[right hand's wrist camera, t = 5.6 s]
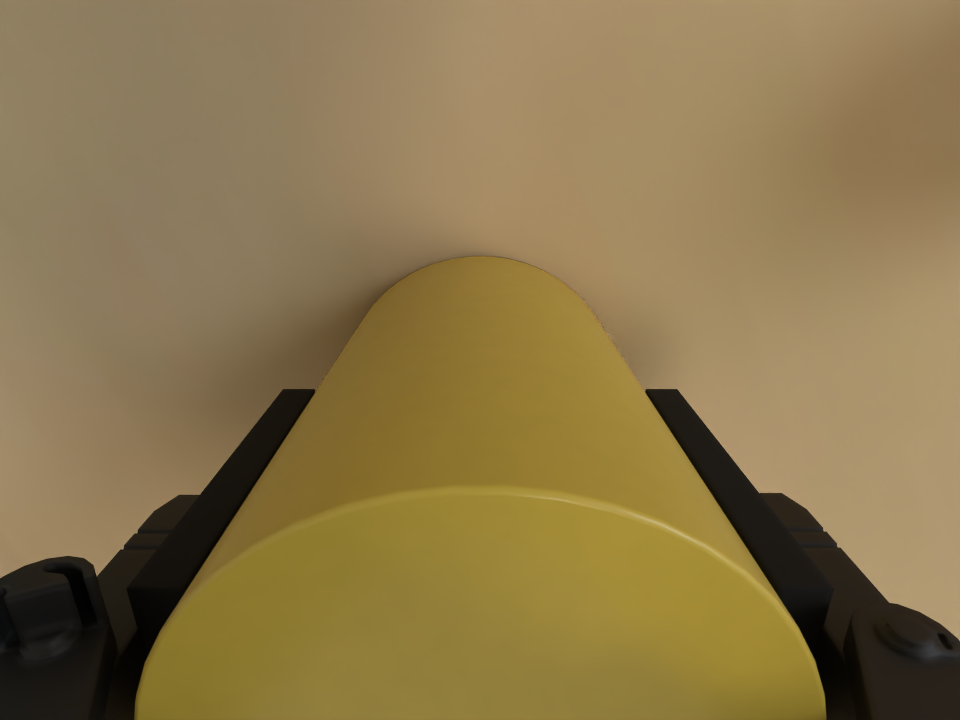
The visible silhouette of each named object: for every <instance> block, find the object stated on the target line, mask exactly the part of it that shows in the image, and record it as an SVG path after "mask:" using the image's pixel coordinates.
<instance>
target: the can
mask: <svg viewBox="0 0 960 720" xmlns="http://www.w3.org/2000/svg"><path fill="white" fill-rule="evenodd" d="M134 720H827V718H826V706H825V695H824V690H823V687H822V683H821V680H820V676H819V673H818V669H817V665H816V662H815V659H814V657H813V655H812V653H811V651H810V649H809V647H808V645H807V643H806V641H805V639H804V637H803V635H802V633H801V631H800V629H799V627H798V626H797V624H796V623H795V621H794V620H793V618H792V617H791V615H790V614H789V612H788V611H787V609H786V607H785V606H784V604H783V603H782V601H781V600H780V598H779V597H778V595H777V594H776V592H775V591H774V589H773V588H772V586H771V584H770V583H769V581H768V580H767V578H766V577H765V575H764V574H763V572H762V571H761V569H760V568H759V566H758V565H757V563H756V562H755V560H754V558H753V557H752V555H751V554H750V552H749V551H748V549H747V548H746V546H745V545H744V543H743V542H742V540H741V539H740V537H739V535H738V534H737V532H736V531H735V529H734V528H733V526H732V525H731V523H730V522H729V520H728V519H727V517H726V516H725V514H724V513H723V511H722V509H721V508H720V506H719V505H718V503H717V502H716V500H715V499H714V497H713V496H712V494H711V493H710V491H709V490H708V488H707V486H706V485H705V483H704V482H703V480H702V479H701V477H700V476H699V474H698V473H697V471H696V470H695V468H694V467H693V465H692V464H691V462H690V460H689V459H688V457H687V456H686V454H685V453H684V451H683V450H682V448H681V447H680V445H679V444H678V442H677V441H676V439H675V437H674V436H673V434H672V433H671V431H670V430H669V428H668V427H667V425H666V424H665V422H664V421H663V419H662V418H661V416H660V414H659V413H658V411H657V410H656V408H655V407H654V405H653V404H652V402H651V401H650V399H649V398H648V396H647V395H646V393H645V392H644V390H643V388H642V387H641V385H640V384H639V382H638V381H637V379H636V378H635V376H634V375H633V373H632V372H631V370H630V369H629V367H628V365H627V364H626V362H625V361H624V359H623V358H622V356H621V355H620V353H619V352H618V350H617V349H616V347H615V346H614V344H613V343H612V341H611V339H610V338H609V336H608V335H607V333H606V332H605V330H604V329H603V327H602V326H601V324H600V323H599V321H598V320H597V318H596V317H595V315H594V314H593V313H592V311H591V310H590V308H589V307H588V306H587V304H586V303H585V302H584V301H583V300H582V299H581V298H580V297H579V296H578V295H577V294H576V293H575V292H574V291H573V290H572V289H571V288H569V287H568V286H567V285H565V284H564V283H563V282H562V281H560V280H559V279H557V278H555V277H554V276H552V275H550V274H548V273H547V272H545V271H543V270H541V269H538V268H536V267H533V266H531V265H529V264H526V263H522V262H519V261H515V260H511V259H506V258H498V257H491V256H469V257H462V258H454V259H449V260H446V261H442V262H438V263H435V264H432V265H429V266H427V267H424V268H422V269H420V270H417V271H415V272H414V273H412V274H410V275H408V276H407V277H405V278H403V279H402V280H400V281H399V282H397V283H396V284H395V285H394V286H392V287H391V288H390V289H389V290H387V291H386V292H385V293H384V294H383V295H382V296H381V297H380V298H379V299H378V300H377V301H376V303H375V304H374V305H373V306H372V307H371V309H370V310H369V312H368V313H367V314H366V316H365V317H364V319H363V320H362V322H361V323H360V325H359V326H358V328H357V329H356V331H355V332H354V334H353V335H352V337H351V339H350V340H349V342H348V343H347V345H346V346H345V348H344V349H343V351H342V352H341V354H340V355H339V357H338V359H337V360H336V362H335V363H334V365H333V366H332V368H331V369H330V371H329V372H328V374H327V375H326V377H325V378H324V380H323V382H322V383H321V385H320V386H319V388H318V389H317V391H316V392H315V394H314V395H313V397H312V398H311V400H310V401H309V403H308V405H307V406H306V408H305V409H304V411H303V412H302V414H301V415H300V417H299V418H298V420H297V421H296V423H295V425H294V426H293V428H292V429H291V431H290V432H289V434H288V435H287V437H286V438H285V440H284V441H283V443H282V444H281V446H280V448H279V449H278V451H277V452H276V454H275V455H274V457H273V458H272V460H271V461H270V463H269V464H268V466H267V467H266V469H265V471H264V472H263V474H262V475H261V477H260V478H259V480H258V481H257V483H256V484H255V486H254V487H253V489H252V491H251V492H250V494H249V495H248V497H247V498H246V500H245V501H244V503H243V504H242V506H241V507H240V509H239V510H238V512H237V514H236V515H235V517H234V518H233V520H232V521H231V523H230V524H229V526H228V527H227V529H226V530H225V532H224V533H223V535H222V537H221V538H220V540H219V541H218V543H217V544H216V546H215V547H214V549H213V550H212V552H211V553H210V555H209V557H208V558H207V560H206V561H205V563H204V564H203V566H202V567H201V569H200V570H199V572H198V573H197V575H196V576H195V578H194V580H193V581H192V583H191V584H190V586H189V587H188V589H187V590H186V592H185V593H184V595H183V596H182V598H181V599H180V601H179V603H178V604H177V606H176V607H175V609H174V610H173V612H172V613H171V615H170V616H169V618H168V619H167V621H166V623H165V624H164V626H163V627H162V629H161V630H160V632H159V634H158V636H157V638H156V641H155V643H154V645H153V647H152V649H151V651H150V653H149V655H148V657H147V659H146V661H145V664H144V668H143V671H142V675H141V679H140V683H139V686H138V690H137V694H136V700H135V715H134Z"/></svg>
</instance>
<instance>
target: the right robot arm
mask: <svg viewBox="0 0 960 720" xmlns="http://www.w3.org/2000/svg"><path fill="white" fill-rule="evenodd" d="M645 393H646V395H647V396H648V398H649V399H650V401H651V402H652V404H653V405H654V407H655V408H656V410H657V411H658V413H659V414H660V416H661V418H662V419H663V421H664V422H665V424H666V425H667V427H668V428H669V430H670V431H671V433H672V434H673V436H674V437H675V439H676V441H677V442H678V444H679V445H680V447H681V448H682V450H683V451H684V453H685V454H686V456H687V457H688V459H689V460H690V462H691V464H692V465H693V467H694V468H695V470H696V471H697V473H698V474H699V476H700V477H701V479H702V480H703V482H704V483H705V485H706V486H707V488H708V490H709V491H710V493H711V494H712V496H713V497H714V499H715V500H716V502H717V503H718V505H719V506H720V508H721V509H722V511H723V513H724V514H725V516H726V517H727V519H728V520H729V522H730V523H731V525H732V526H733V528H734V529H735V531H736V532H737V534H738V535H739V537H740V539H741V540H742V542H743V543H744V545H745V546H746V548H747V549H748V551H749V552H750V554H751V555H752V557H753V558H754V560H755V562H756V563H757V565H758V566H759V568H760V569H761V571H762V572H763V574H764V575H765V577H766V578H767V580H768V581H769V583H770V584H771V586H772V588H773V589H774V591H775V592H776V594H777V595H778V597H779V598H780V600H781V601H782V603H783V604H784V606H785V607H786V609H787V611H788V612H789V614H790V615H791V617H792V618H793V620H794V621H795V623H796V624H797V626H798V627H799V629H800V631H801V633H802V635H803V637H804V639H805V641H806V643H807V645H808V647H809V649H810V651H811V653H812V655H813V657H814V659H815V662H816V665H817V669H818V673H819V676H820V680H821V683H822V687H823V690H824V695H825V706H826V718H827V720H960V641H959V640H958V638H956V637H955V636H954V635H953V634H952V633H950V632H949V631H948V630H947V629H946V628H945V627H943V626H942V625H941V624H940V623H938V622H936V621H934V620H933V619H931V618H929V617H927V616H925V615H924V614H922V613H920V612H918V611H915V610H912V609H910V608H907V607H904V606H901V605H898V604H893V603H889V602H888V601H887V600H886V599H885V598H884V596H883V595H882V594H881V593H880V592H879V591H878V590H877V589H876V587H875V586H874V585H873V584H872V583H871V582H870V581H869V579H868V578H867V577H866V576H865V575H864V574H863V573H862V572H861V570H860V569H859V568H858V567H857V566H856V565H855V564H854V562H853V561H852V560H851V559H850V558H849V557H848V556H847V555H846V553H845V552H844V551H843V550H842V549H841V548H838V547H837V543H836V542H835V541H834V540H833V539H832V538H831V536H830V535H829V534H828V533H827V532H824V531H823V527H822V526H821V525H820V524H819V523H818V522H817V521H816V519H815V518H814V517H813V516H812V515H811V514H810V513H809V511H808V510H807V509H805V508H804V507H802V506H801V505H799V504H798V503H796V502H795V501H793V500H791V499H790V498H788V497H787V496H785V495H784V494H782V493H759V492H758V491H757V490H756V489H755V487H754V486H753V485H752V484H751V482H750V481H749V480H748V478H747V477H746V476H745V475H744V473H743V472H742V471H741V470H740V468H739V467H738V466H737V465H736V463H735V462H734V461H733V459H732V458H731V457H730V456H729V454H728V453H727V452H726V451H725V449H724V448H723V447H722V446H721V444H720V443H719V442H718V440H717V439H716V438H715V437H714V435H713V434H712V433H711V432H710V430H709V429H708V428H707V426H706V425H705V424H704V423H703V421H702V420H701V419H700V418H699V416H698V415H697V414H696V413H695V411H694V410H693V409H692V407H691V406H690V405H689V404H688V402H687V401H686V400H685V399H684V397H683V396H682V395H681V394H680V392H679V391H678V390H677V389H646V391H645ZM314 394H315V389H283V390H282V391H281V393H280V394H279V395H278V397H277V398H276V399H275V400H274V402H273V403H272V404H271V405H270V407H269V408H268V409H267V411H266V412H265V413H264V414H263V416H262V417H261V418H260V419H259V421H258V422H257V423H256V424H255V426H254V427H253V428H252V430H251V431H250V432H249V433H248V435H247V436H246V437H245V438H244V440H243V441H242V442H241V443H240V445H239V446H238V447H237V449H236V450H235V451H234V452H233V454H232V455H231V456H230V457H229V459H228V460H227V461H226V463H225V464H224V465H223V466H222V468H221V469H220V470H219V471H218V473H217V474H216V475H215V476H214V478H213V479H212V480H211V482H210V483H209V484H208V485H207V487H206V488H205V489H204V490H203V492H202V493H201V494H200V495H178V496H177V497H175V498H174V499H172V500H171V501H169V502H168V503H166V504H164V505H163V506H161V507H160V508H158V509H157V510H155V511H154V512H153V513H152V514H151V515H150V517H149V518H148V519H147V520H146V521H145V522H144V523H143V525H142V526H141V527H140V528H139V529H138V533H137V534H134V535H133V536H132V537H131V538H130V539H129V541H128V542H127V543H126V544H125V545H124V549H123V550H120V551H119V552H118V553H117V554H116V555H115V557H114V558H113V559H112V560H111V561H110V562H109V563H108V565H107V566H106V567H105V568H104V569H103V570H102V571H101V573H100V574H99V575H98V576H96V573H95V569H94V566H93V565H92V564H91V563H90V562H88V561H87V560H86V559H84V558H79V557H72V556H64V557H56V558H49V559H45V560H42V561H39V562H35V563H32V564H29V565H26V566H23V567H21V568H19V569H17V570H15V571H13V572H11V573H9V574H7V575H6V576H4V577H2V578H0V720H134V715H135V700H136V694H137V690H138V686H139V683H140V679H141V675H142V671H143V668H144V664H145V661H146V659H147V657H148V655H149V653H150V651H151V649H152V647H153V645H154V643H155V641H156V638H157V636H158V634H159V632H160V630H161V629H162V627H163V626H164V624H165V623H166V621H167V619H168V618H169V616H170V615H171V613H172V612H173V610H174V609H175V607H176V606H177V604H178V603H179V601H180V599H181V598H182V596H183V595H184V593H185V592H186V590H187V589H188V587H189V586H190V584H191V583H192V581H193V580H194V578H195V576H196V575H197V573H198V572H199V570H200V569H201V567H202V566H203V564H204V563H205V561H206V560H207V558H208V557H209V555H210V553H211V552H212V550H213V549H214V547H215V546H216V544H217V543H218V541H219V540H220V538H221V537H222V535H223V533H224V532H225V530H226V529H227V527H228V526H229V524H230V523H231V521H232V520H233V518H234V517H235V515H236V514H237V512H238V510H239V509H240V507H241V506H242V504H243V503H244V501H245V500H246V498H247V497H248V495H249V494H250V492H251V491H252V489H253V487H254V486H255V484H256V483H257V481H258V480H259V478H260V477H261V475H262V474H263V472H264V471H265V469H266V467H267V466H268V464H269V463H270V461H271V460H272V458H273V457H274V455H275V454H276V452H277V451H278V449H279V448H280V446H281V444H282V443H283V441H284V440H285V438H286V437H287V435H288V434H289V432H290V431H291V429H292V428H293V426H294V425H295V423H296V421H297V420H298V418H299V417H300V415H301V414H302V412H303V411H304V409H305V408H306V406H307V405H308V403H309V401H310V400H311V398H312V397H313V395H314Z"/></svg>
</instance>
